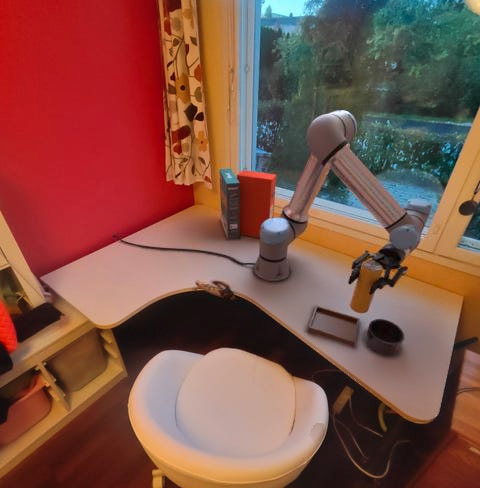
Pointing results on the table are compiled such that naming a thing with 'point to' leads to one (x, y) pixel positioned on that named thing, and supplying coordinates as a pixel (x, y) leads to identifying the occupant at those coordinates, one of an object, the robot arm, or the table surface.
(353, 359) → the table surface
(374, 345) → the bowl
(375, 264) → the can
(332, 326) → the tray
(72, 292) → the table surface
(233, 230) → the cake mix box
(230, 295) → the bone fish hook
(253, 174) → the file binder
